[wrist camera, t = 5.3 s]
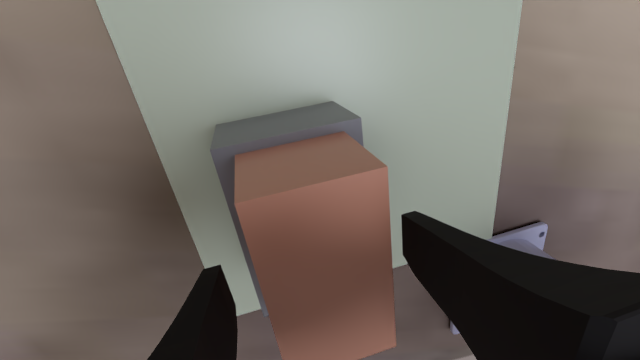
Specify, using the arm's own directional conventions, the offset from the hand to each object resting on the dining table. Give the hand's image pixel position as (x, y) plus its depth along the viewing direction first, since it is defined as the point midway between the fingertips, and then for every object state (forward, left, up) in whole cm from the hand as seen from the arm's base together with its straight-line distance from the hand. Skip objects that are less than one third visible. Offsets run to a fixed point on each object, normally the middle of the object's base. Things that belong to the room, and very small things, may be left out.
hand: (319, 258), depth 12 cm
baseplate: (+3, -4, -7) cm, 8 cm away
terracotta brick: (0, 0, -2) cm, 2 cm away
